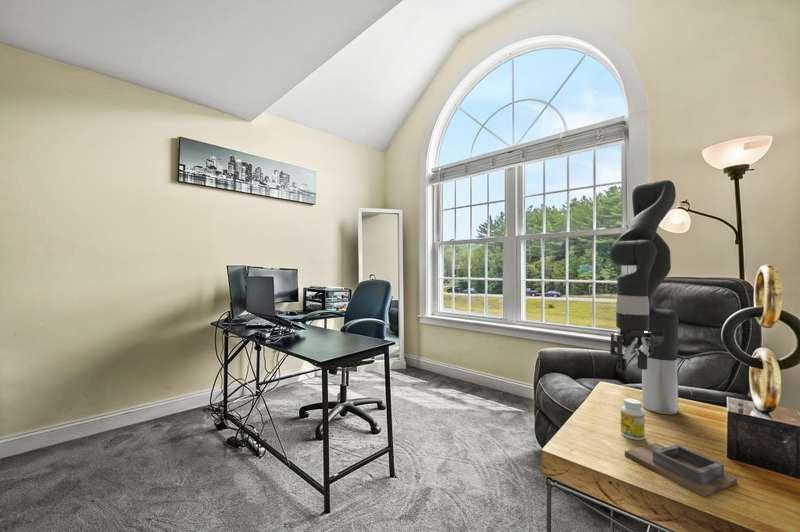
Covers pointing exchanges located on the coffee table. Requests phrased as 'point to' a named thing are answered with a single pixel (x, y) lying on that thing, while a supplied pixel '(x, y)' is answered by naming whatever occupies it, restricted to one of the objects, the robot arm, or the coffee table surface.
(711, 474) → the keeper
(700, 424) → the coffee table surface
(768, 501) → the coffee table surface
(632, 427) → the supplement bottle
